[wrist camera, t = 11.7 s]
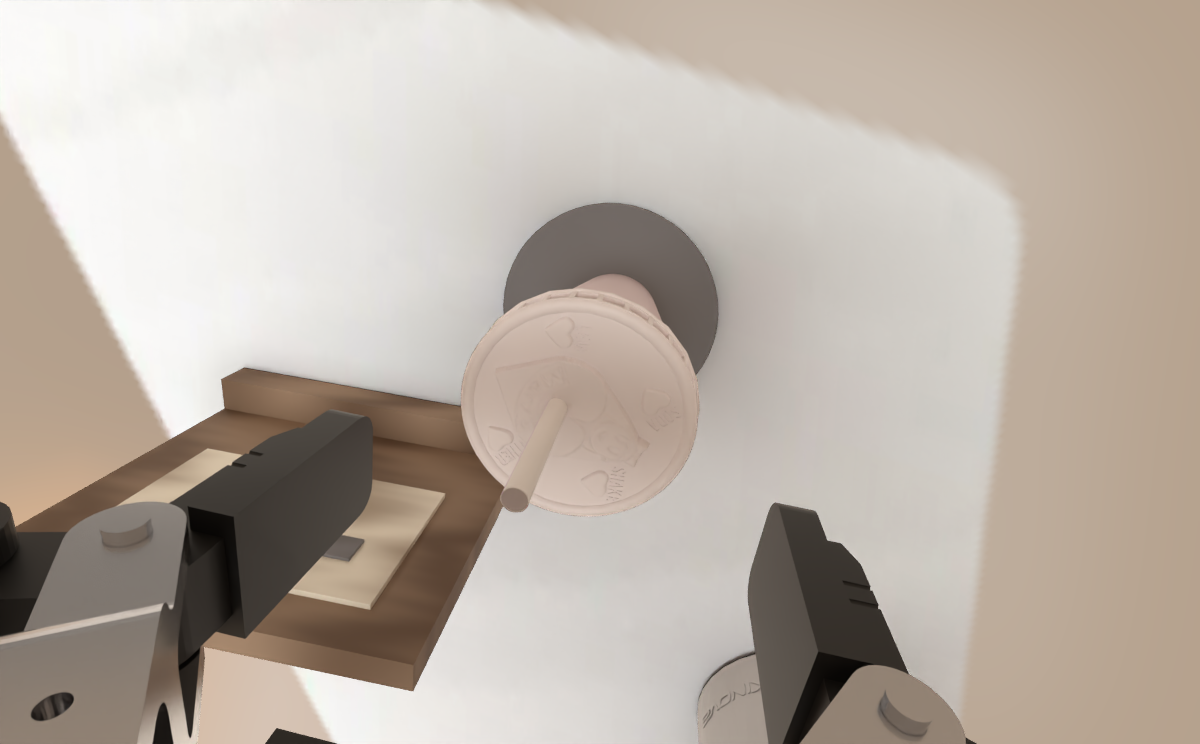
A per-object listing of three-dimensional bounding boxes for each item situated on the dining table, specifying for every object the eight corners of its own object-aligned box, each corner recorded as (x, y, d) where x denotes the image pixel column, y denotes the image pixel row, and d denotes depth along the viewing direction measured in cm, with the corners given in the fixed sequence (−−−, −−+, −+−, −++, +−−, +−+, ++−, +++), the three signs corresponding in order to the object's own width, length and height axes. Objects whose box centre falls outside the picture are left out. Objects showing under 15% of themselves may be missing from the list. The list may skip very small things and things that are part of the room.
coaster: (763, 310, 23) (765, 313, 23) (615, 445, 26) (614, 451, 26) (602, 153, 22) (601, 153, 22) (466, 315, 25) (462, 318, 25)
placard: (527, 418, 27) (414, 623, 15) (520, 490, 28) (412, 728, 16) (244, 367, 27) (-72, 524, 16) (251, 440, 29) (-32, 632, 17)
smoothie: (585, 208, 22) (462, 284, 9) (722, 294, 23) (785, 477, 10) (512, 340, 25) (333, 545, 12) (637, 414, 25) (599, 690, 12)
